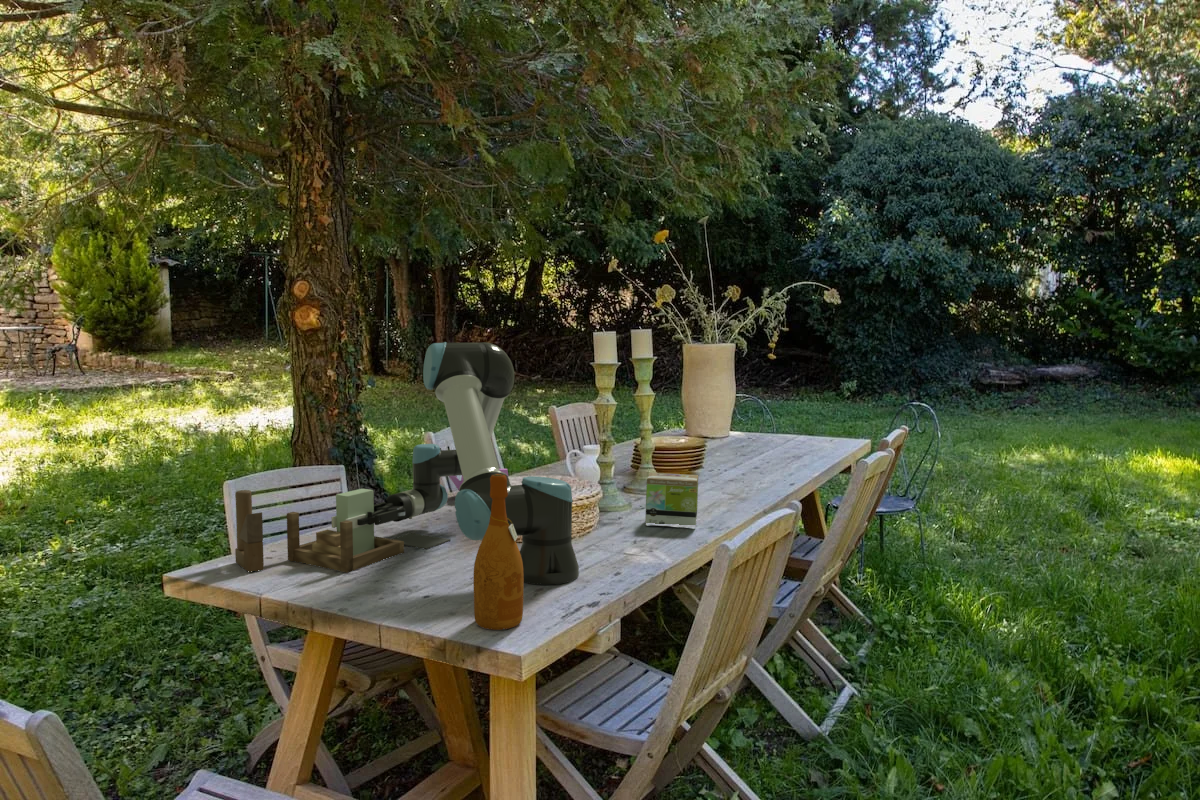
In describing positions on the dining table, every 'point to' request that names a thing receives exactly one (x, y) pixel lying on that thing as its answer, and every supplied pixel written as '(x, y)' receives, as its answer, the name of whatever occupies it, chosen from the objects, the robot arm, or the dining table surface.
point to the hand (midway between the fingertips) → (339, 523)
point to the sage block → (355, 506)
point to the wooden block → (248, 533)
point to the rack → (346, 560)
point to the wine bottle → (498, 567)
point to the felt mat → (420, 540)
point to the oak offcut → (326, 549)
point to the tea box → (671, 499)
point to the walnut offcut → (328, 538)
